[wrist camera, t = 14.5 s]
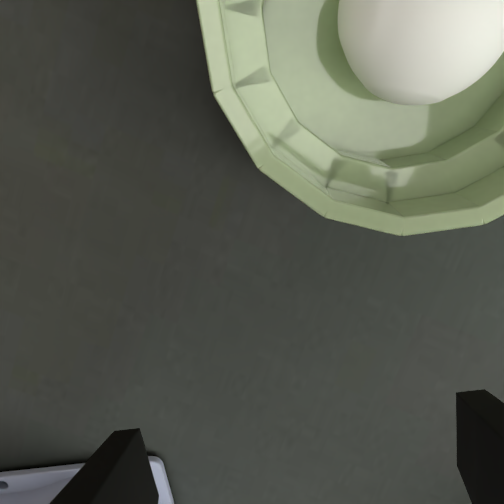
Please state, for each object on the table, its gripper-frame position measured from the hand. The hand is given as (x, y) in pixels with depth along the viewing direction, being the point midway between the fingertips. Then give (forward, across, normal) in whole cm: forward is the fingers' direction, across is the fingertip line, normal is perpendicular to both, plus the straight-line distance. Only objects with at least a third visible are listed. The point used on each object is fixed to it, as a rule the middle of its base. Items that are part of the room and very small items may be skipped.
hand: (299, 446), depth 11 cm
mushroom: (+9, -5, -9) cm, 14 cm away
